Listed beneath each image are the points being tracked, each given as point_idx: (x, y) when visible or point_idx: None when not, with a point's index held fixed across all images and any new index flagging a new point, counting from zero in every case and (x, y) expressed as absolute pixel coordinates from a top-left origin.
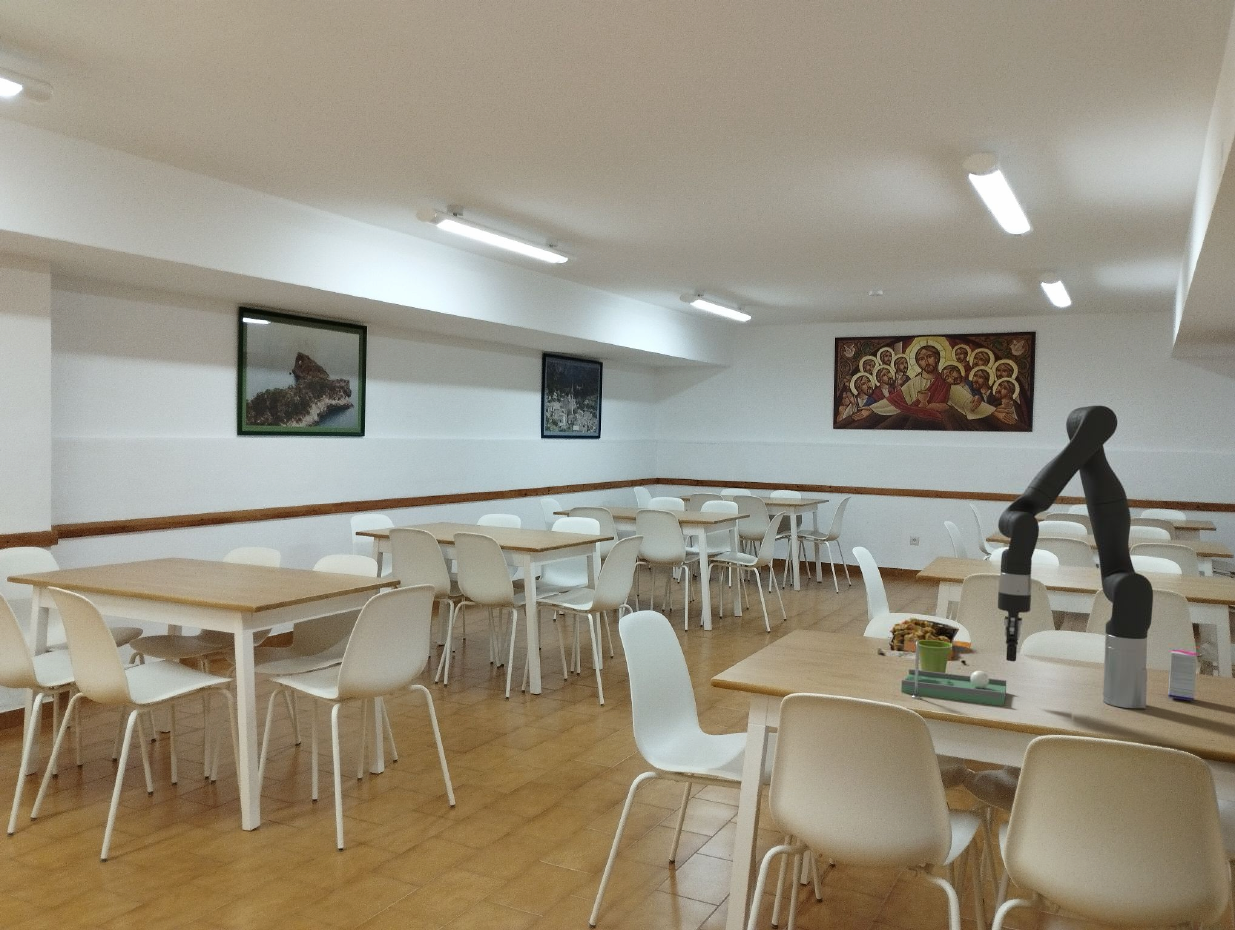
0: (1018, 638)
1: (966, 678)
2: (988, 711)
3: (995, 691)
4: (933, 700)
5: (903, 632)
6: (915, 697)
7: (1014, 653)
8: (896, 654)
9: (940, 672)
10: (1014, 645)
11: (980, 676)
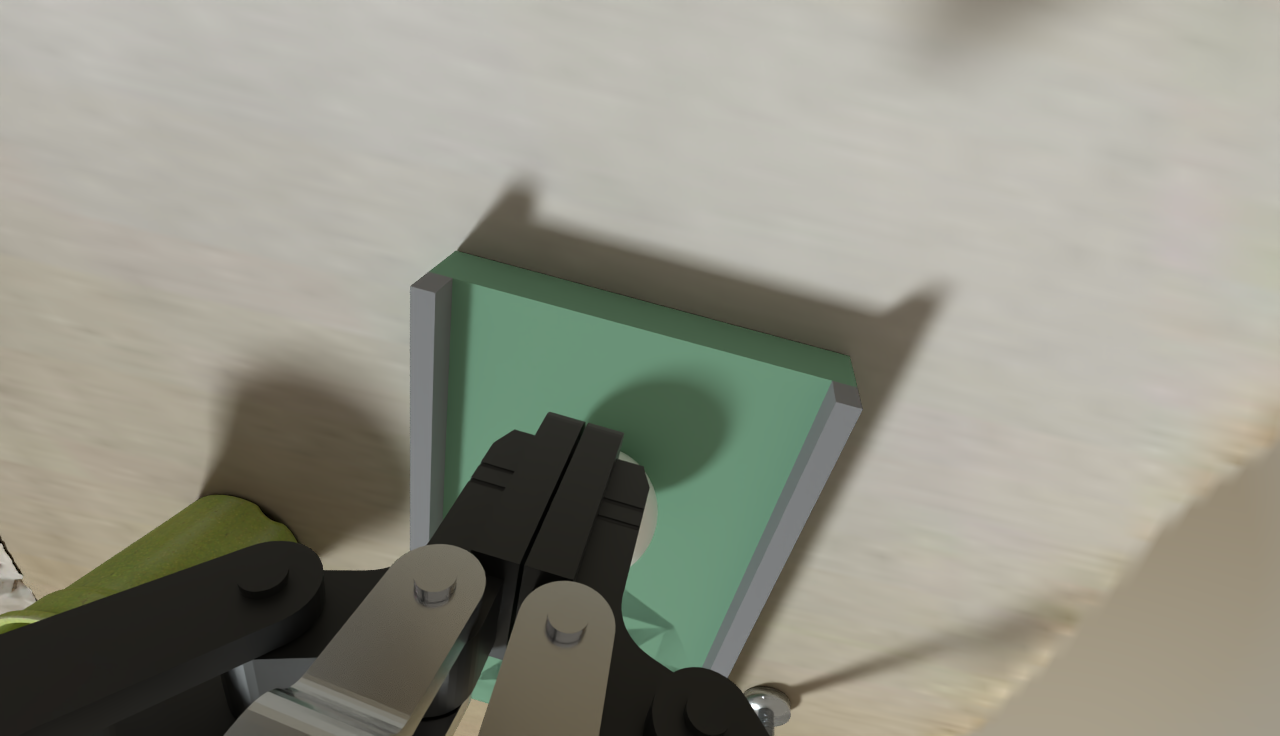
0: (255, 592)
1: (436, 503)
2: (1000, 474)
3: (820, 453)
4: (784, 651)
5: None
6: (788, 717)
7: (605, 516)
8: (7, 600)
9: (266, 541)
10: (670, 673)
11: (641, 547)
